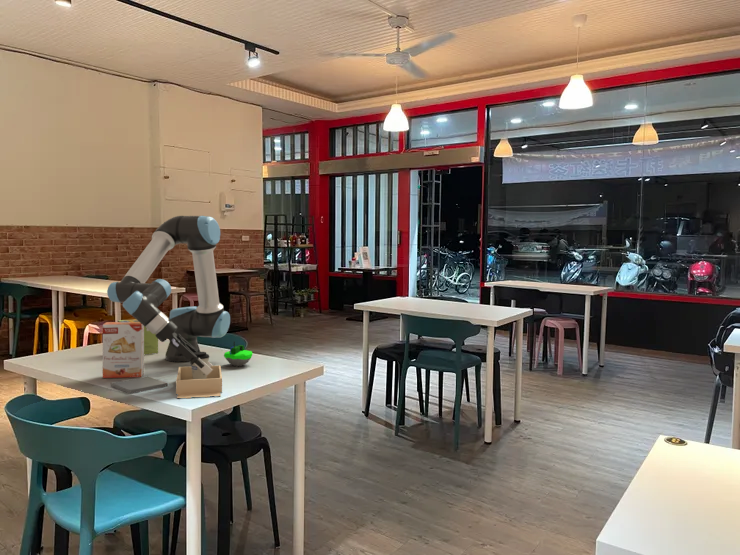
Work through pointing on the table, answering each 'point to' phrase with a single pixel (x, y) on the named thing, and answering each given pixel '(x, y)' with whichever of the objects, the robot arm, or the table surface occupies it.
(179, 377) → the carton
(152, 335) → the protein box
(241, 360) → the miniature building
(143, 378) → the slate board
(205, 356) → the coffee cup
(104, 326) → the cracker box
